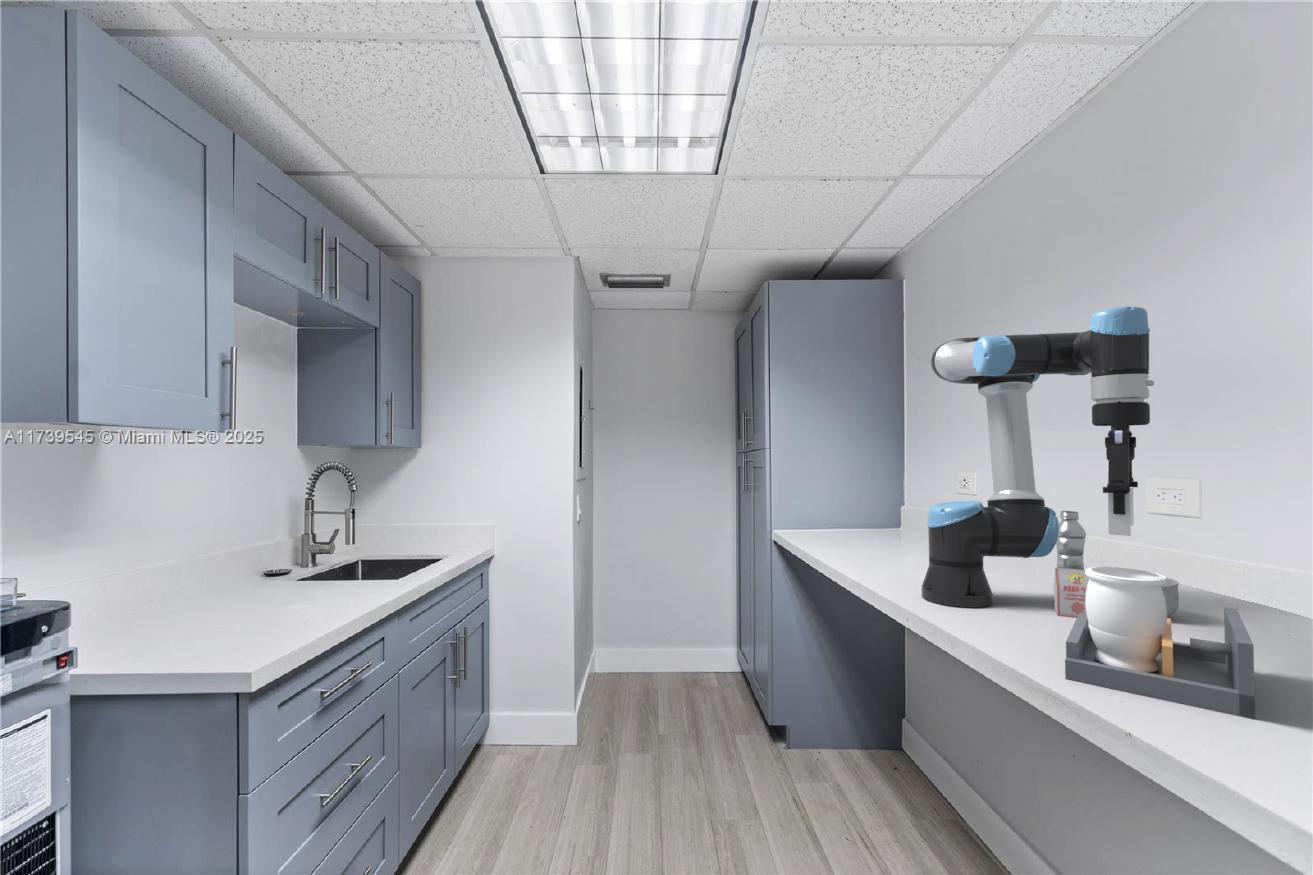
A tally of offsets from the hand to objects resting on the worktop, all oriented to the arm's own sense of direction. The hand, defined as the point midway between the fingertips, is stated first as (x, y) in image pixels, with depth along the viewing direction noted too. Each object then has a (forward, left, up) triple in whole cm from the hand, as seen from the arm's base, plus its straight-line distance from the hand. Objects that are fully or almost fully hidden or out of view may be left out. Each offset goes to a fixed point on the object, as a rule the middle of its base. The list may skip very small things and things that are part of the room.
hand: (1121, 529), depth 96 cm
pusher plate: (+5, 0, -22) cm, 22 cm away
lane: (+4, 0, -23) cm, 23 cm away
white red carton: (-9, +31, -23) cm, 40 cm away
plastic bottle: (-12, +55, -23) cm, 61 cm away
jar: (0, -1, -22) cm, 22 cm away
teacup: (+2, +42, -23) cm, 48 cm away
